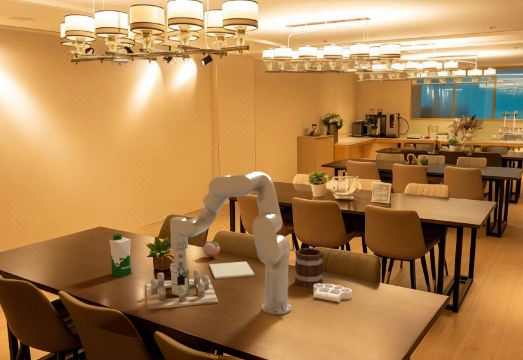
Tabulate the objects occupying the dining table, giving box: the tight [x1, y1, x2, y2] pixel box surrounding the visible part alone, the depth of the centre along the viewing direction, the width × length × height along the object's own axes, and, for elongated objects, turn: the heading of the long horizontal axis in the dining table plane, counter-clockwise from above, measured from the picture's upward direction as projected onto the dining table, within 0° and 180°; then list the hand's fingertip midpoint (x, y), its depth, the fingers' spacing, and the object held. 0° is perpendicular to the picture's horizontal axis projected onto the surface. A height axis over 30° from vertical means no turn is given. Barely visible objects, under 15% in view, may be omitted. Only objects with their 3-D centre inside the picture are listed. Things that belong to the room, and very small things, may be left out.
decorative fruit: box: [203, 240, 221, 259], centre depth 277 cm, size 9×8×10 cm
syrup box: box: [170, 261, 190, 297], centre depth 225 cm, size 6×6×14 cm
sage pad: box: [209, 261, 255, 280], centre depth 257 cm, size 20×20×1 cm
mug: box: [294, 247, 324, 288], centre depth 243 cm, size 20×14×15 cm
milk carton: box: [108, 233, 132, 278], centre depth 250 cm, size 9×9×20 cm
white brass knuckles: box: [312, 283, 353, 303], centre depth 224 cm, size 3×18×15 cm
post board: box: [145, 269, 219, 310], centre depth 226 cm, size 30×30×7 cm
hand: (180, 281), depth 225 cm, fingers open, 9 cm apart
